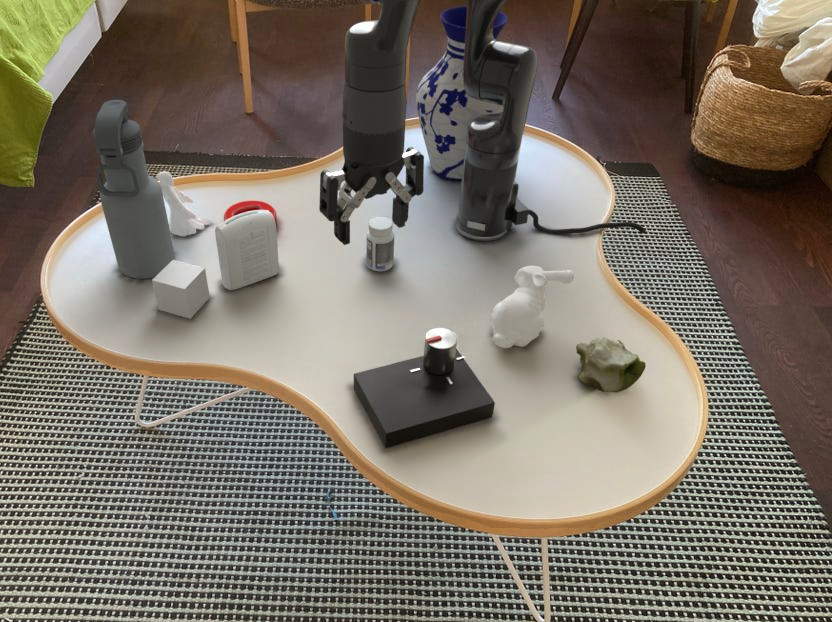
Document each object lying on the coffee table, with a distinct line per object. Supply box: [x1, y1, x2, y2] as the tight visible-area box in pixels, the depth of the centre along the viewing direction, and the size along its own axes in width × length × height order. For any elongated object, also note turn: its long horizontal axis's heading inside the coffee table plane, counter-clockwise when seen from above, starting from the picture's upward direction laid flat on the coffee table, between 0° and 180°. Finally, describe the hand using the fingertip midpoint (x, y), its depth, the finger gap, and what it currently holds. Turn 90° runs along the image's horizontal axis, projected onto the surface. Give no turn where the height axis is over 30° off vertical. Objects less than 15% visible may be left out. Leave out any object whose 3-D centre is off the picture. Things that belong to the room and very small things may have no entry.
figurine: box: [155, 170, 210, 237], centre depth 132 cm, size 8×8×12 cm
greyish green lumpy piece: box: [575, 337, 646, 393], centre depth 105 cm, size 9×9×8 cm
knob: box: [422, 327, 458, 375], centre depth 103 cm, size 4×4×5 cm
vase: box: [415, 5, 508, 182], centre depth 142 cm, size 19×19×30 cm
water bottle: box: [92, 99, 176, 280], centre depth 118 cm, size 10×10×28 cm
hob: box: [353, 348, 496, 449], centre depth 103 cm, size 16×14×3 cm
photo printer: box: [214, 210, 280, 291], centre depth 121 cm, size 10×4×12 cm, turn 123°
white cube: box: [151, 259, 211, 320], centre depth 118 cm, size 6×6×6 cm
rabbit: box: [491, 265, 575, 349], centre depth 110 cm, size 12×9×12 cm
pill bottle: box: [365, 216, 395, 272], centre depth 125 cm, size 5×5×8 cm
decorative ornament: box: [223, 200, 278, 232], centre depth 135 cm, size 10×10×3 cm
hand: (371, 232), depth 98 cm, fingers open, 8 cm apart
